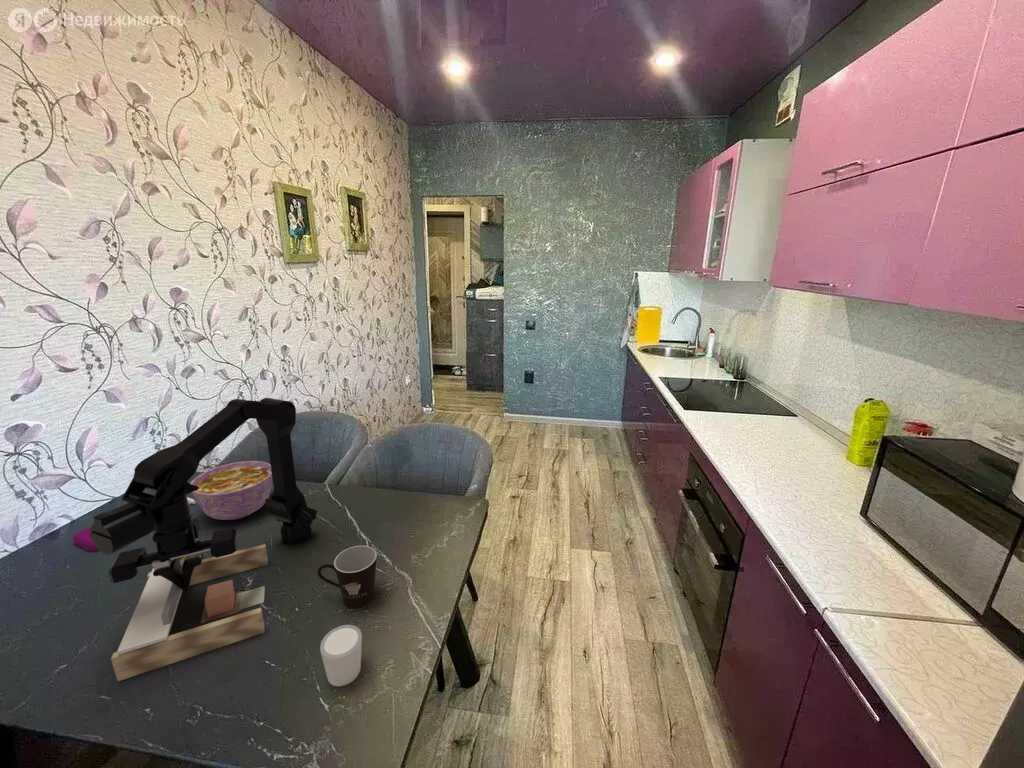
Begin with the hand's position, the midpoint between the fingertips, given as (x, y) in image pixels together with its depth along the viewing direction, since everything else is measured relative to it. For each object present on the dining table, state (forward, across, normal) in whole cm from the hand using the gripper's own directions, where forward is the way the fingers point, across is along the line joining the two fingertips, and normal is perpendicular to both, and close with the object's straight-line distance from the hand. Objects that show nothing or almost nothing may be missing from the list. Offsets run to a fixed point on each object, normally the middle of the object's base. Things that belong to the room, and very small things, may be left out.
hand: (186, 589), depth 80 cm
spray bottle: (+8, +19, -46) cm, 50 cm away
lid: (+1, +4, 0) cm, 5 cm away
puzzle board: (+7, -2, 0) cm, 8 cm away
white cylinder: (+8, -26, +26) cm, 37 cm away
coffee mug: (+8, -30, +8) cm, 32 cm away
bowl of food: (+8, -5, -40) cm, 41 cm away
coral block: (+6, -5, 0) cm, 8 cm away
